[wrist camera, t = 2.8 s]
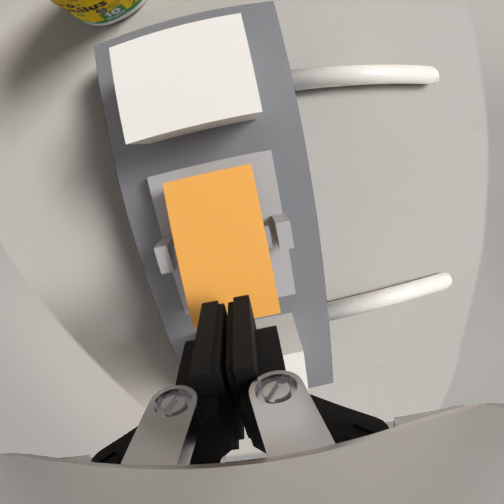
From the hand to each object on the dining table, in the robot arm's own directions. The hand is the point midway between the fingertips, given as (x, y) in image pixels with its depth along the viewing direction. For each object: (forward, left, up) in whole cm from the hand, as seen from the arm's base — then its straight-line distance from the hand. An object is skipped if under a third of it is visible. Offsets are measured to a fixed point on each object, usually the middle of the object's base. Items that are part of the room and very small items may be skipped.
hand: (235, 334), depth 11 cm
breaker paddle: (-2, 0, -3) cm, 4 cm away
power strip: (-2, +5, -8) cm, 10 cm away
